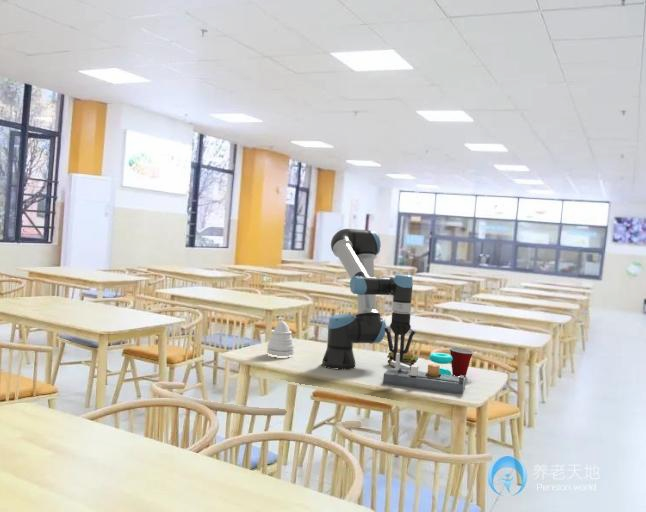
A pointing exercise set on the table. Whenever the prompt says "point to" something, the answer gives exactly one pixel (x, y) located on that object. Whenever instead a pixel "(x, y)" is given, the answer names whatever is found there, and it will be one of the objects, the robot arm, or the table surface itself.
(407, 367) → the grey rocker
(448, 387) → the console panel
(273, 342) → the honey pot
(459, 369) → the plastic cup
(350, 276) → the robot arm
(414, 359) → the food
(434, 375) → the orange button
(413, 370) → the slider knob
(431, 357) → the donuts
